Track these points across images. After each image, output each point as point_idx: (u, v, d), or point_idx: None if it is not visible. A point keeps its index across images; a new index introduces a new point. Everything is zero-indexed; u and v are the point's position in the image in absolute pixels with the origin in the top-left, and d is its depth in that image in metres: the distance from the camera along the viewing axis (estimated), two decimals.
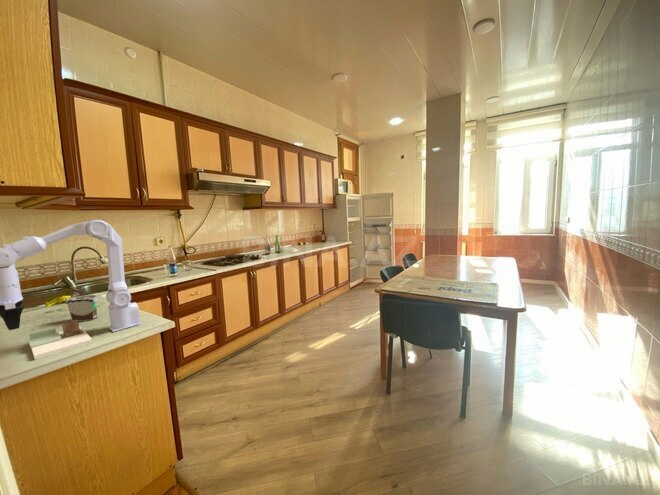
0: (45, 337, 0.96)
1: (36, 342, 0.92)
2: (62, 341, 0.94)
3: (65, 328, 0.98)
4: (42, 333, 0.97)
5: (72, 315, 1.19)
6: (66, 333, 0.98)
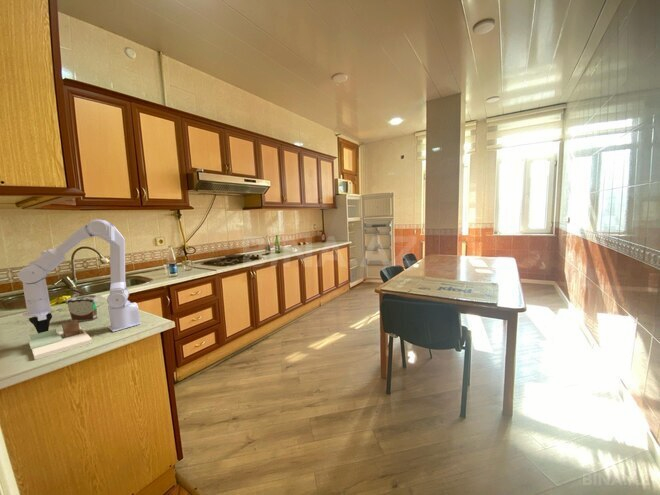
0: (46, 338, 0.95)
1: (36, 343, 0.91)
2: (62, 341, 0.94)
3: (65, 328, 0.98)
4: (43, 334, 0.96)
5: (72, 315, 1.19)
6: (66, 333, 0.98)
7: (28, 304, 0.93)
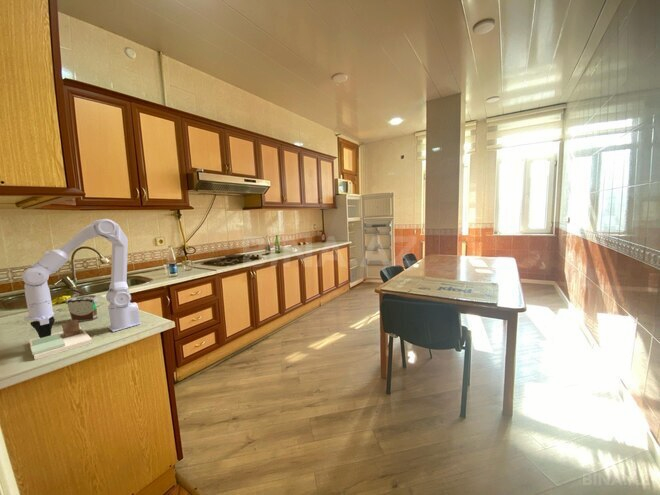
0: (48, 343, 0.91)
1: (39, 349, 0.87)
2: None
3: (65, 328, 0.98)
4: (45, 339, 0.92)
5: (72, 315, 1.19)
6: (66, 333, 0.98)
7: (30, 308, 0.89)
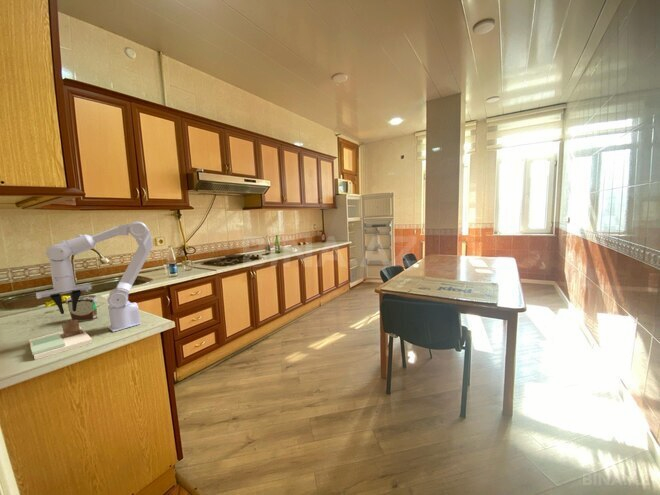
0: (48, 343, 0.91)
1: (39, 349, 0.87)
2: None
3: (65, 328, 0.98)
4: (45, 339, 0.92)
5: (72, 315, 1.19)
6: (66, 333, 0.98)
7: None
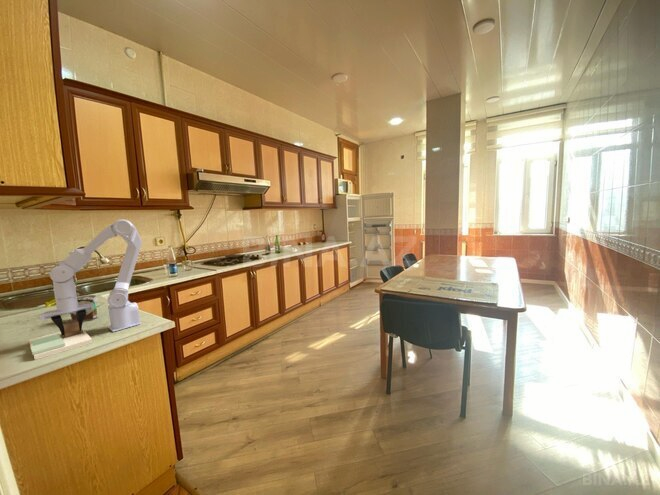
0: (48, 343, 0.91)
1: (39, 349, 0.87)
2: None
3: (65, 328, 0.98)
4: (45, 339, 0.92)
5: (72, 315, 1.19)
6: (66, 333, 0.98)
7: None
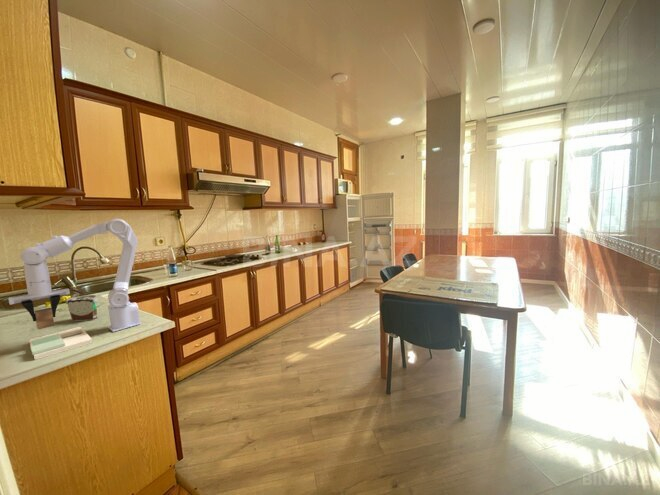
0: (48, 343, 0.91)
1: (39, 349, 0.87)
2: None
3: (37, 316, 0.93)
4: (45, 339, 0.92)
5: (72, 315, 1.19)
6: (38, 321, 0.93)
7: None
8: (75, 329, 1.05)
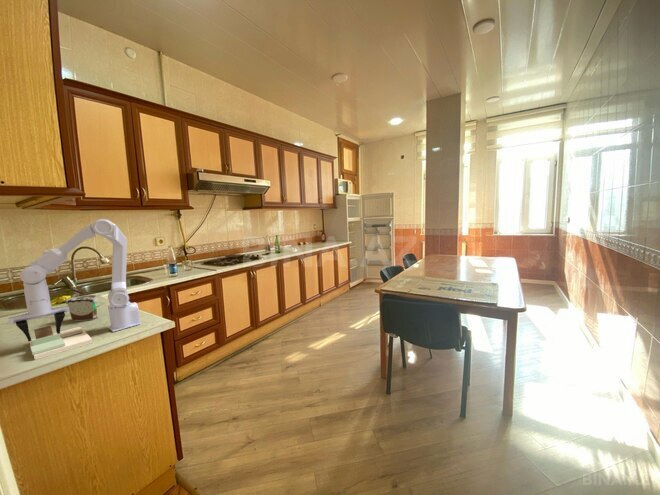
0: (48, 343, 0.91)
1: (39, 349, 0.87)
2: None
3: (37, 335, 0.93)
4: (45, 339, 0.92)
5: (72, 315, 1.19)
6: None
7: None
8: (75, 329, 1.05)
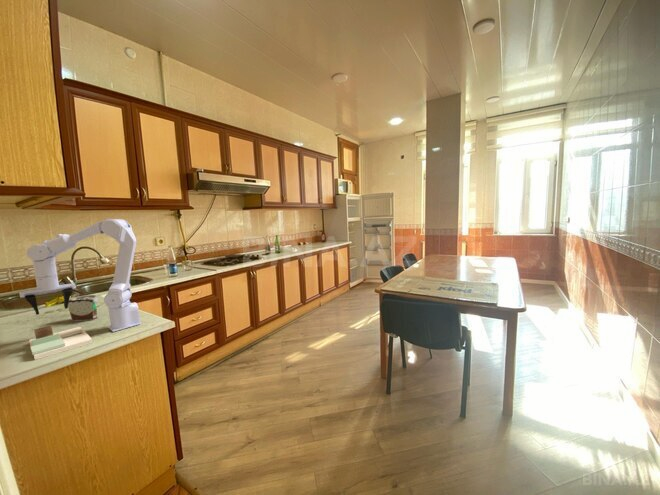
0: (48, 343, 0.91)
1: (39, 349, 0.87)
2: None
3: (37, 335, 0.93)
4: (45, 339, 0.92)
5: (72, 315, 1.19)
6: None
7: None
8: (75, 329, 1.05)
